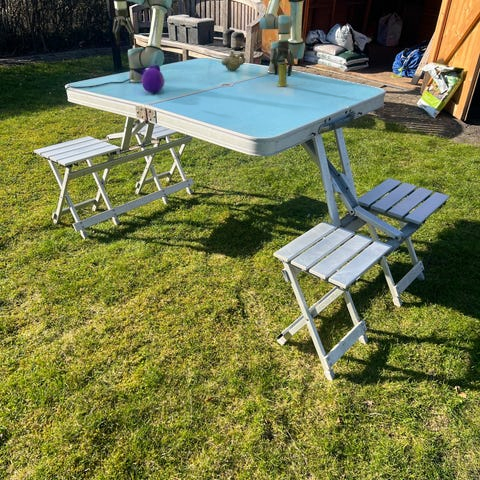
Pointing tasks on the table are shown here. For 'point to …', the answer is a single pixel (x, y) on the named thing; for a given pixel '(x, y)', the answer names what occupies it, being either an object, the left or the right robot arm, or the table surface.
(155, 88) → the toy
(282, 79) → the olive green upright cylinder
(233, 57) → the teapot
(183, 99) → the table surface
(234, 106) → the table surface
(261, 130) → the table surface
